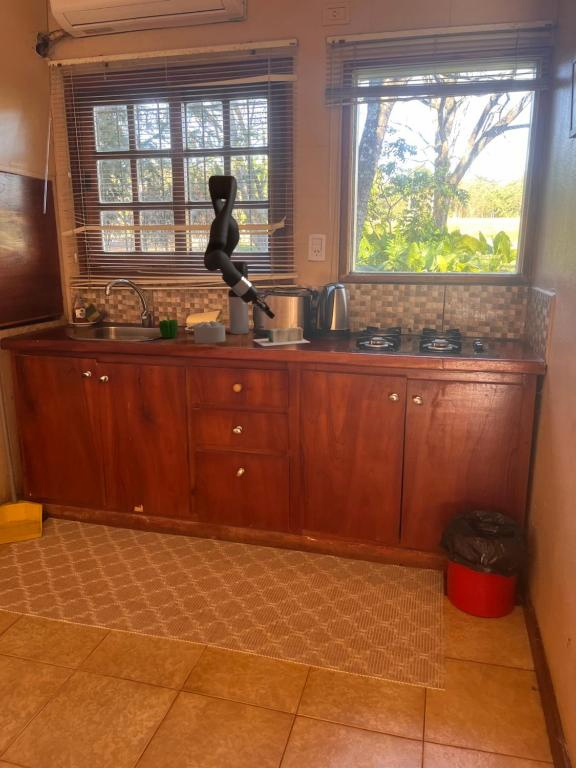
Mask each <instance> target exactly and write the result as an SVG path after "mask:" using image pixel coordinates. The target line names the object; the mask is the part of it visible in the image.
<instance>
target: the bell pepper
mask: <svg viewBox="0 0 576 768" xmlns="http://www.w3.org/2000/svg"><path fill="white" fill-rule="evenodd" d="M166 318H167V319H163V320H160V321H159V322H158V326H159V327H158V328H159V331H160V334H161V337H162V338H163V339H174V338H176V337H177V335H178V330H179V322H178V320H176V319H170V315H166Z"/></svg>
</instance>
